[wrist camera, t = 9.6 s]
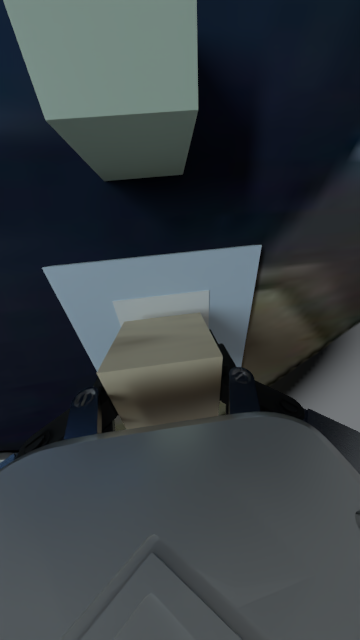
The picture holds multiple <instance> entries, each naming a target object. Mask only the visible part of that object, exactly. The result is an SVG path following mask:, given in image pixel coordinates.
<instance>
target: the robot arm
mask: <svg viewBox="0 0 360 640" xmlns="http://www.w3.org/2000/svg"><path fill="white" fill-rule="evenodd" d="M209 331H210V332H211V334H212V336H213V338H214V340H215V342H216V344H217V346H218V348H219V350H220V352H221V354H222V356H223V361H222V374H221V387H220V400H221V401H222V402H223V403H225V404H226V415H221V416H214V417H207V418H200V419H193V420H186V421H180V422H173V423H166V424H159V425H153V426H146V427H139V428H133V429H126V430H120V431H115V420H114V419H115V418H116V417H117V415H119V414H118V412H117V411H116V409H115V407H114V405H113V403H112V401H111V399H110V398H109V396H108V394H107V392H106V390H105V388H104V386H103V385H102V383H101V381H100V379H99V377H98V378H97V380H96V382H95V384H94V385H93V387H88V388H85V389H84V390H82V391H80V392H79V393H78V394H77V395H76V396H75V397H74V398H73V400H72V403H71V407H70V409H68V410H67V411H66V412H64V413H63V414H61V415H60V416H59V417H57V418H56V419H55V420H53V421H52V422H50V423H49V424H48V425H46V426H45V427H43V428H42V429H41V430H39V431H38V432H37V433H35V434H34V435H33V436H31V437H30V438H29V439H28V440H27V441H26V442H25V443H24V444H23V446H22V447H21V449H20V450H19V452H18V453H12V452H7V453H0V640H360V433H359V432H358V431H356V430H353V429H351V428H349V427H347V426H345V425H343V424H341V423H339V422H336V421H334V420H332V419H330V418H328V417H326V416H323V415H321V414H319V413H317V412H315V411H313V410H310V409H308V410H306V409H304V408H303V407H301V405H300V404H299V403H298V402H297V401H296V400H295V399H293V398H291V397H289V396H287V395H285V394H283V393H281V392H279V391H277V390H274V389H272V388H270V387H268V386H266V385H264V384H261V383H259V382H257V381H255V380H254V377H253V375H252V373H251V372H250V371H248V370H247V369H245V368H242V367H236V365H235V363H234V362H233V360H232V358H231V356H230V355H229V353H228V351H227V350H226V348H225V346H224V345H223V344H222V343H220V344H218V342H217V340H216V338H215V337H214V335H213V333H212V331H211V329H209ZM220 400H219V401H220Z"/></svg>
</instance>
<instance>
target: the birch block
mask: <svg viewBox="0 0 360 640" xmlns="http://www.w3.org/2000/svg"><path fill="white" fill-rule="evenodd" d="M222 361H223V356H222V354H221V352H220V350H219V348H218V346H217V344H216V342H215V340H214V338H213V336H212V334H211V332H210V331H209V329H208V327H207V325H206V323H205V321H204V319H203V317H202V315H201V313H192V314H183V315H175V316H167V317H159V318H150V319H142V320H134V321H126V322H124V323H123V325H122V327H121V329H120V330H119V332H118V334H117V336H116V338H115V340H114V342H113V343H112V345H111V347H110V349H109V351H108V353H107V355H106V356H105V358H104V360H103V362H102V364H101V366H100V368H99V369H98V371H97V375H98V377H99V379H100V381H101V383H102V385H103V386H104V388H105V390H106V392H107V394H108V396H109V398H110V399H111V401H112V403H113V405H114V407H115V409H116V411H117V412H118V414H119V416H120V418H121V420H122V422H123V423H124V425H125V427H126V429H133V428H139V427H146V426H153V425H159V424H166V423H173V422H180V421H186V420H193V419H200V418H207V417H214V416H218V413H219V400H220V387H221V374H222Z"/></svg>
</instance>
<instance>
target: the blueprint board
mask: <svg viewBox="0 0 360 640" xmlns="http://www.w3.org/2000/svg"><path fill="white" fill-rule="evenodd" d="M261 247H262V245H249V246H239V247H230V248H220V249H210V250H201V251H191V252H181V253H172V254H162V255H152V256H142V257H133V258H123V259H113V260H104V261H94V262H84V263H74V264H65V265H55V266H48V267H43V268H42V269H43V271H44V273H45V275H46V277H47V278H48V280H49V282H50V284H51V286H52V288H53V290H54V292H55V293H56V295H57V297H58V299H59V301H60V303H61V305H62V307H63V308H64V310H65V312H66V314H67V316H68V318H69V320H70V322H71V323H72V325H73V327H74V329H75V331H76V333H77V335H78V337H79V338H80V340H81V342H82V344H83V346H84V348H85V350H86V352H87V353H88V355H89V357H90V359H91V361H92V363H93V365H94V367H95V368H96V370H97V371H98V369H99V368H100V366H101V364H102V362H103V360H104V358H105V356H106V355H107V353H108V351H109V349H110V347H111V345H112V343H113V342H114V340H115V338H116V336H117V334H118V332H119V330H120V329H121V327H122V325H123V323H124V322H126V321H134V320H142V319H150V318H159V317H167V316H175V315H183V314H192V313H201V315H202V317H203V319H204V321H205V323H206V325H207V327H208V329H211V331H212V333H213V335H214V337H215V338H216V340H217V342H218V344H220V343H222V344H223V345H224V346H225V348H226V350H227V351H228V353H229V355H230V356H231V358H232V360H233V362H234V363H235V365H236V367H241V365H242V359H243V353H244V347H245V341H246V335H247V329H248V324H249V318H250V312H251V306H252V300H253V294H254V288H255V282H256V277H257V271H258V265H259V259H260V253H261Z"/></svg>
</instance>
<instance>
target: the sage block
mask: <svg viewBox="0 0 360 640" xmlns="http://www.w3.org/2000/svg"><path fill="white" fill-rule="evenodd" d="M3 1H4V4H5V7H6V9H7V12H8V15H9V18H10V21H11V24H12V26H13V29H14V32H15V35H16V38H17V41H18V43H19V46H20V49H21V52H22V55H23V58H24V61H25V63H26V66H27V69H28V72H29V75H30V78H31V80H32V83H33V86H34V89H35V92H36V95H37V97H38V100H39V103H40V106H41V109H42V112H43V114H44V117H45V120H46V121H47V122H48V123H49V124H50V125H51V126H52V127H53V128H54V129H55V130H56V132H57V133H58V134H59V135H60V136H61V137H62V138H63V139H64V140H65V141H66V142H67V143H68V144H69V145H70V146H71V147H72V148H73V149H74V150H75V151H76V152H77V153H78V154H79V155H80V156H81V157H82V158H83V160H84V161H85V162H86V163H87V164H88V165H89V166H90V167H91V168H92V169H93V170H94V171H95V172H96V173H97V174H98V175H99V176H100V177H101V178H102V179H103V180H104V181H112V180H124V179H136V178H148V177H160V176H172V175H183V171H184V167H185V163H186V159H187V155H188V151H189V147H190V142H191V138H192V134H193V130H194V126H195V122H196V117H197V113H198V59H197V0H3Z"/></svg>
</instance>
